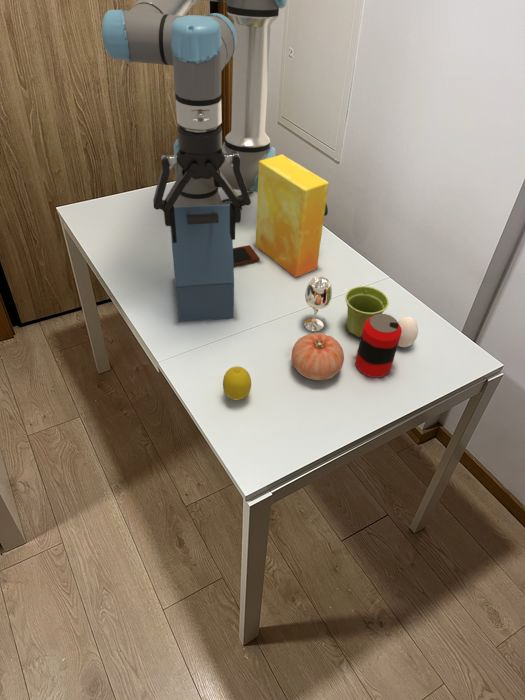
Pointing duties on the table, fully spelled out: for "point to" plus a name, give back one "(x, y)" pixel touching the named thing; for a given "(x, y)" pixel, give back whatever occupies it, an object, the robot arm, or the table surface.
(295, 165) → the mottled yellow carton
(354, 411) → the table surface
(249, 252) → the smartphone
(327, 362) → the orange pumpkin
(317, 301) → the wineglass
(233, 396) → the lemon
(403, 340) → the egg
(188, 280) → the lid
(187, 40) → the robot arm
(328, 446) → the table surface
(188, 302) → the blue-grey hollow box
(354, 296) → the plant pot
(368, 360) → the soda can
